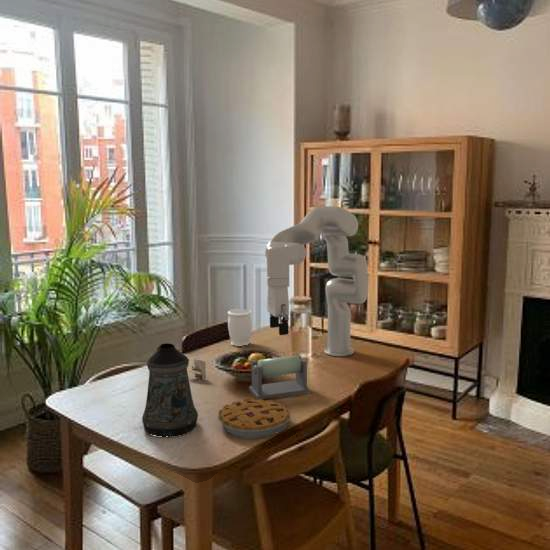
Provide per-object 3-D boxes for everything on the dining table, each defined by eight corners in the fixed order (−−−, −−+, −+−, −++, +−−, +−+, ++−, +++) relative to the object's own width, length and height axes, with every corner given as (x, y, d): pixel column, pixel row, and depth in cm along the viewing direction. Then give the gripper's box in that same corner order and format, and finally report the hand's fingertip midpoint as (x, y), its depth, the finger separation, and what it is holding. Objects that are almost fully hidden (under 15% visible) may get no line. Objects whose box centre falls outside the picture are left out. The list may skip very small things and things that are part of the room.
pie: (239, 448, 162) (239, 431, 161) (206, 420, 180) (205, 405, 179) (304, 429, 173) (304, 413, 172) (266, 405, 192) (266, 390, 191)
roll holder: (249, 389, 205) (248, 359, 203) (299, 382, 211) (299, 353, 209) (257, 399, 196) (256, 368, 194) (309, 392, 202) (309, 362, 200)
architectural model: (199, 383, 213) (199, 363, 212) (186, 379, 217) (185, 360, 216) (206, 380, 216) (205, 361, 214) (193, 376, 220) (192, 357, 219)
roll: (251, 374, 202) (251, 358, 201) (300, 368, 208) (300, 352, 207) (256, 380, 197) (256, 364, 195) (306, 374, 202) (306, 358, 201)
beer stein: (166, 443, 165) (162, 359, 160) (125, 425, 177) (121, 346, 173) (209, 424, 177) (206, 345, 173) (168, 408, 189) (165, 334, 185)
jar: (225, 347, 255) (225, 313, 252) (231, 340, 265) (230, 308, 262) (249, 348, 253) (249, 314, 250) (254, 341, 263) (253, 309, 260)
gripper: (260, 278, 203) (261, 325, 206) (276, 287, 187) (276, 338, 190) (280, 276, 206) (281, 323, 209) (297, 285, 190) (298, 336, 193)
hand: (279, 330), depth 200 cm, fingers open, 9 cm apart
